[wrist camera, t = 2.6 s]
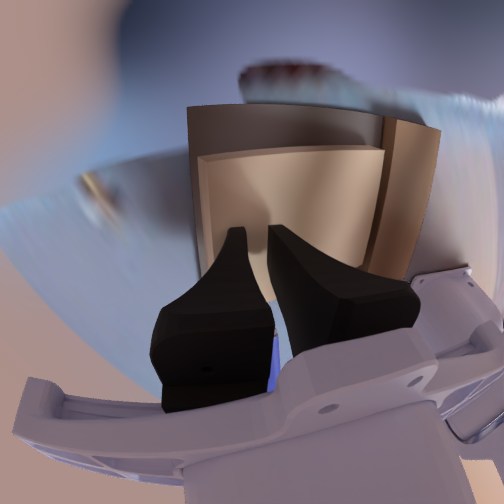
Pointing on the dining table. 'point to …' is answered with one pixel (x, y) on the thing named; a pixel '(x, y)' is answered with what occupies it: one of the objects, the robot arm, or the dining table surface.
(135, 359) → the dining table surface
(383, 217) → the floor board
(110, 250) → the dining table surface
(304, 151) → the plank
